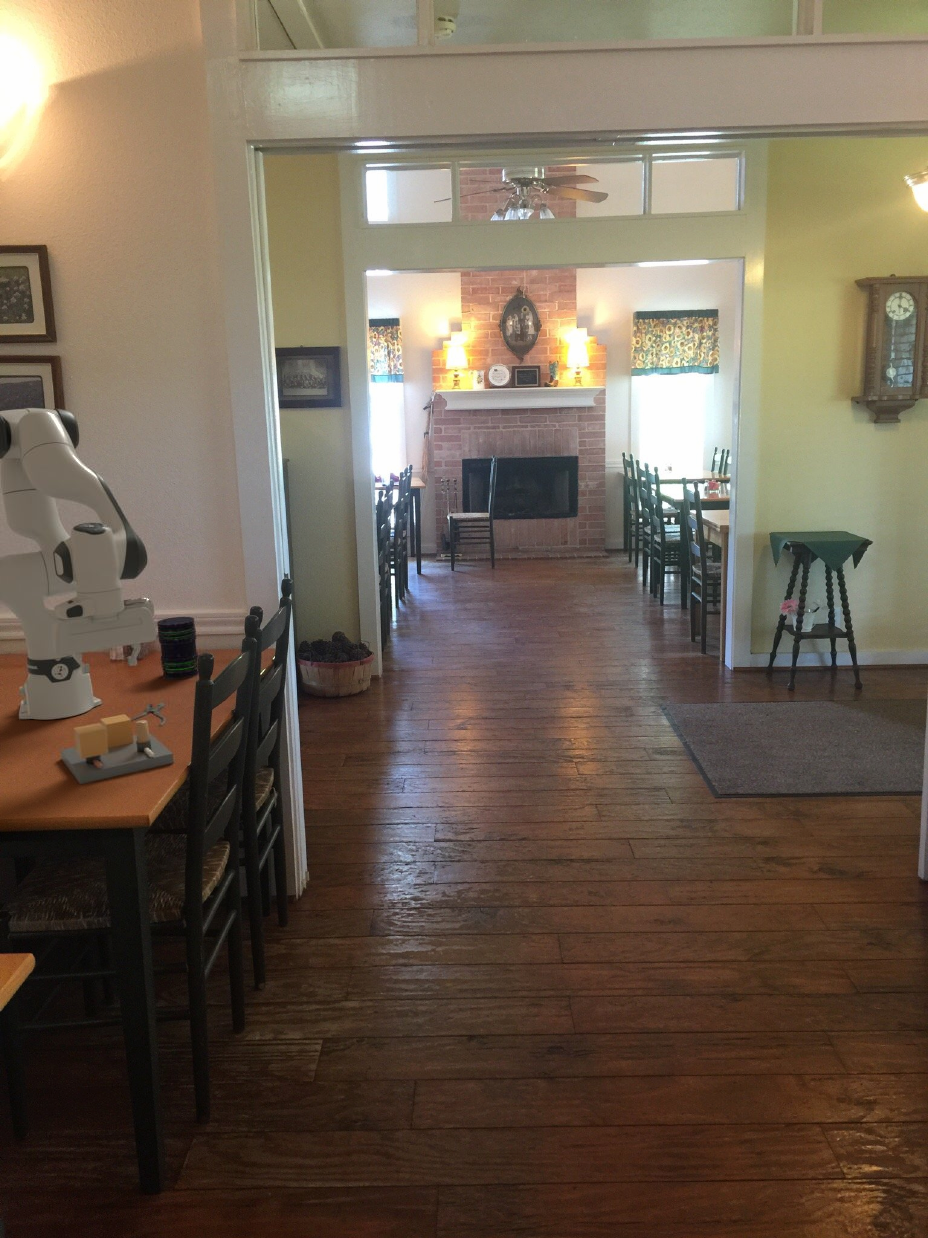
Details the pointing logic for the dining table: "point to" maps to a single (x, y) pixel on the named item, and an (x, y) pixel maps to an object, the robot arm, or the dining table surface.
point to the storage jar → (178, 647)
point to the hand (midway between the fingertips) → (109, 669)
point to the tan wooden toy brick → (118, 730)
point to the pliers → (153, 710)
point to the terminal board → (113, 753)
